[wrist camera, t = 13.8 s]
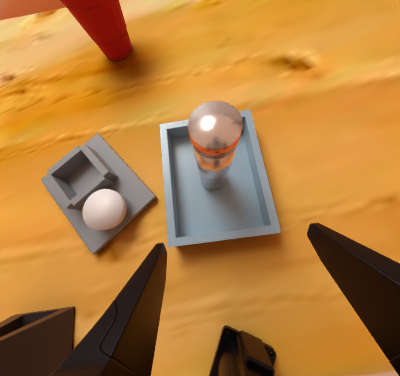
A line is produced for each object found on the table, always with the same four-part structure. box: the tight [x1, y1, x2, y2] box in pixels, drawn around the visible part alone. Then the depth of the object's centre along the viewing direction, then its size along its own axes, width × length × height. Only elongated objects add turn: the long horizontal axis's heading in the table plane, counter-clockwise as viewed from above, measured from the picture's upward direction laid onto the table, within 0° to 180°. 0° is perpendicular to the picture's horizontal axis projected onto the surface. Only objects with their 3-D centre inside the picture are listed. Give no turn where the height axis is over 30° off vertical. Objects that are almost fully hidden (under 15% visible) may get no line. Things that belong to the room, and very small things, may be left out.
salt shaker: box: [188, 101, 243, 191], centre depth 18 cm, size 4×4×13 cm
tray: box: [160, 110, 281, 247], centre depth 23 cm, size 18×14×4 cm
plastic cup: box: [61, 0, 131, 60], centre depth 28 cm, size 11×11×12 cm
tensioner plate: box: [41, 134, 157, 254], centre depth 24 cm, size 16×12×4 cm
